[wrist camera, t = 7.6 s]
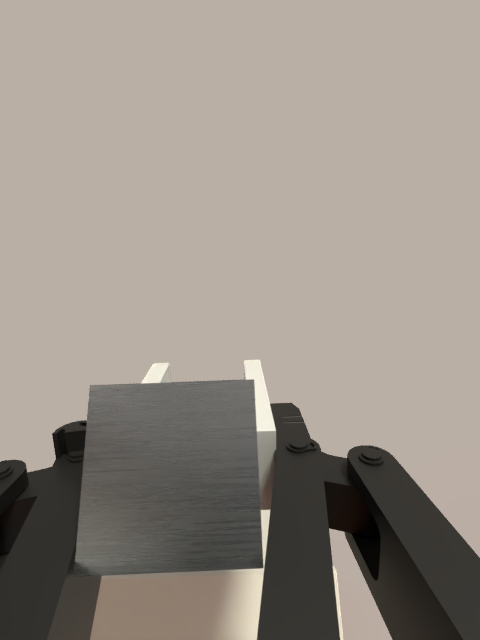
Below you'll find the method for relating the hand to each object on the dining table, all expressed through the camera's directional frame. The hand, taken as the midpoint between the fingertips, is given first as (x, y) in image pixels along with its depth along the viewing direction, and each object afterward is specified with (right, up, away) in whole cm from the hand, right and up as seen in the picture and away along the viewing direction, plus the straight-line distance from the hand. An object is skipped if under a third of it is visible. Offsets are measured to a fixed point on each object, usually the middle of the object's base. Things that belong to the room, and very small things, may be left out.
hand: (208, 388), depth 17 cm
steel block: (0, -6, +4) cm, 7 cm away
